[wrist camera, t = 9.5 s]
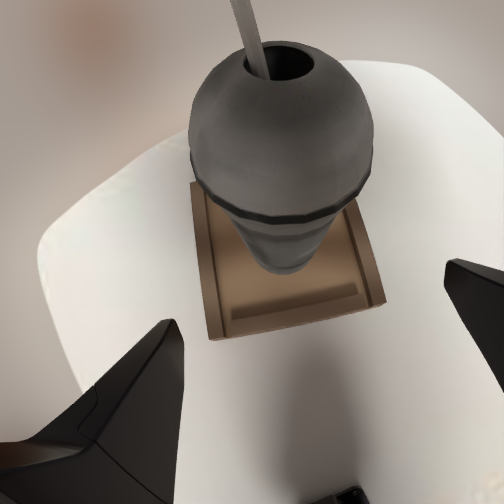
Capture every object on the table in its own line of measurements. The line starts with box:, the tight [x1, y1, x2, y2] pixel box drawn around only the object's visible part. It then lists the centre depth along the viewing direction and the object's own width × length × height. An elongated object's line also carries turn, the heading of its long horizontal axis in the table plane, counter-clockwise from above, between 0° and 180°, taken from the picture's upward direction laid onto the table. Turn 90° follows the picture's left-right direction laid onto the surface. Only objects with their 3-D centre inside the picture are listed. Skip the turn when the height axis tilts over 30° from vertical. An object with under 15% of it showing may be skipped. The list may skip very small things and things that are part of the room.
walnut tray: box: [190, 181, 386, 341], centre depth 22 cm, size 12×12×2 cm
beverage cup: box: [188, 0, 373, 275], centre depth 13 cm, size 7×7×20 cm
